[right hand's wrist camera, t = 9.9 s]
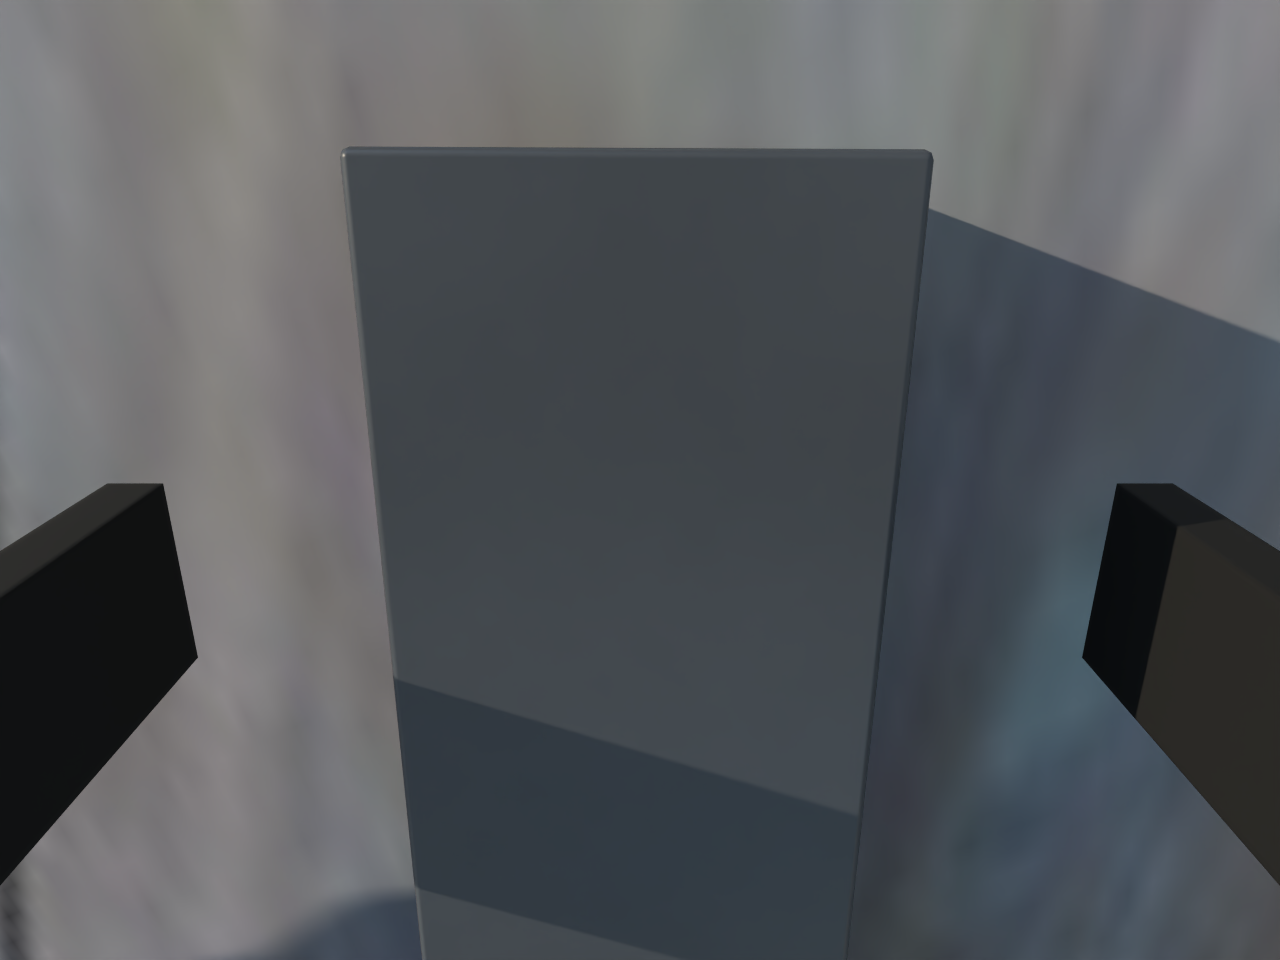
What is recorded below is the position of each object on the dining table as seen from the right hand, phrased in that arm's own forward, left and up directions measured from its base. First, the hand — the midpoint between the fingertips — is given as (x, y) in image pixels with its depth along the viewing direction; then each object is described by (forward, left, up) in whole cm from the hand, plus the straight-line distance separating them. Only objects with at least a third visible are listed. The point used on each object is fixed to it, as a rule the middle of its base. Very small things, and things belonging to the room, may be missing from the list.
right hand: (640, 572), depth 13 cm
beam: (+7, +22, -5) cm, 24 cm away
